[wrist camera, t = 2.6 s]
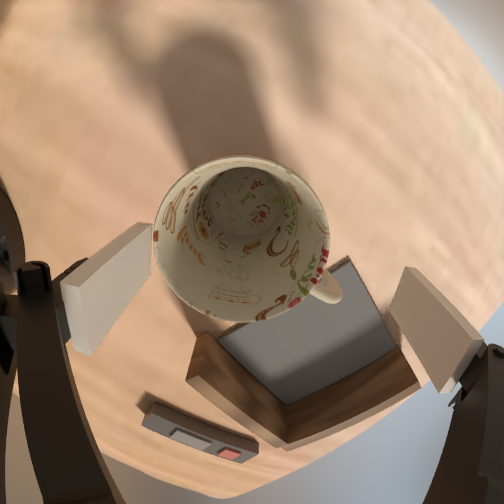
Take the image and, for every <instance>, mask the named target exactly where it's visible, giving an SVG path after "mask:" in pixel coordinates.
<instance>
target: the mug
mask: <svg viewBox="0 0 504 504" xmlns="http://www.w3.org/2000/svg"><path fill="white" fill-rule="evenodd" d="M153 246H154V253H155V257H156V261H157V264H158V267H159V269H160V272H161V274H162V276H163V278H164V279H165V281H166V283H167V284H168V285H169V287H170V288H171V289H172V291H173V292H174V293H175V294H176V295H177V296H178V297H179V298H180V299H181V300H182V301H184V302H185V303H186V304H187V305H189V306H190V307H192V308H193V309H195V310H197V311H198V312H200V313H202V314H204V315H207V316H210V317H212V318H215V319H219V320H223V321H229V322H256V321H262V320H266V319H269V318H272V317H275V316H278V315H280V314H282V313H284V312H286V311H288V310H290V309H291V308H293V307H294V306H296V305H297V304H298V303H300V302H301V301H302V300H303V299H304V298H305V297H306V296H307V295H308V294H309V293H310V294H311V295H313V296H315V297H316V298H318V299H320V300H322V301H324V302H326V303H331V304H335V303H338V302H340V301H341V299H342V290H341V288H340V286H339V284H338V283H337V281H336V280H335V279H334V277H333V276H332V275H331V274H330V273H329V272H328V271H327V270H326V269H325V266H326V263H327V259H328V254H329V247H330V233H329V226H328V221H327V217H326V214H325V211H324V209H323V206H322V204H321V202H320V200H319V198H318V197H317V195H316V194H315V192H314V191H313V190H312V188H311V187H310V186H309V185H308V184H307V183H306V182H305V181H304V180H303V179H302V178H301V177H300V176H299V175H297V174H296V173H295V172H294V171H292V170H291V169H289V168H287V167H286V166H284V165H282V164H280V163H278V162H275V161H273V160H270V159H267V158H263V157H258V156H253V155H229V156H223V157H219V158H215V159H212V160H209V161H207V162H204V163H202V164H200V165H198V166H196V167H195V168H193V169H191V170H190V171H188V172H187V173H186V174H184V175H183V176H182V177H181V178H180V179H179V180H178V181H177V182H176V183H175V184H174V185H173V186H172V187H171V189H170V190H169V191H168V193H167V194H166V196H165V197H164V199H163V201H162V203H161V205H160V207H159V210H158V213H157V216H156V219H155V224H154V232H153ZM320 278H321V279H322V281H323V282H324V283H325V285H326V287H325V286H323V285H321V284H320V283H318V281H319V279H320Z"/></svg>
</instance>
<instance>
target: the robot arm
mask: <svg viewBox="0 0 504 504" xmlns="http://www.w3.org/2000/svg"><path fill="white" fill-rule="evenodd" d="M151 243H152V224H150V223H143V222H137V223H136V224H134V225H133V226H132V227H130V228H129V229H127V230H126V231H125V232H123V233H122V234H121V235H119V236H118V237H117V238H115V239H114V240H112V241H111V242H110V243H108V244H107V245H106V246H104V247H103V248H102V249H101V250H99V251H98V252H97V253H95V254H94V255H93V256H91V257H90V258H84V259H82V260H79V261H77V262H75V263H74V264H73V265H71V266H70V267H69V268H68V269H66V270H65V271H64V273H61V274H60V275H59V276H57V277H56V278H55V279H54V280H52V281H51V274H50V268H49V265H48V264H47V263H45V262H42V261H30V262H26V263H25V251H24V244H23V238H22V234H21V230H20V226H19V223H18V220H17V217H16V214H15V212H14V210H13V207H12V205H11V203H10V201H9V200H8V198H7V196H6V195H5V193H4V192H3V191H2V189H1V188H0V504H6V492H5V451H6V436H7V424H8V417H9V409H10V402H11V396H12V390H13V385H14V380H15V375H16V370H17V372H18V385H19V395H20V403H21V410H22V417H23V423H24V429H25V434H26V439H27V444H28V448H29V453H30V457H31V460H32V464H33V468H34V472H35V475H36V478H37V482H38V485H39V488H40V491H41V494H42V497H43V503H44V504H126V503H125V501H124V499H123V497H122V495H121V494H120V492H119V490H118V488H117V486H116V484H115V482H114V480H113V478H112V476H111V474H110V472H109V470H108V468H107V466H106V464H105V462H104V459H103V457H102V455H101V453H100V450H99V448H98V446H97V443H96V441H95V439H94V436H93V433H92V431H91V428H90V426H89V423H88V420H87V418H86V415H85V412H84V409H83V406H82V403H81V400H80V397H79V394H78V390H77V387H76V384H75V380H74V377H73V373H72V369H71V365H70V361H69V357H68V353H67V349H66V346H65V344H66V343H67V341H68V340H69V339H70V338H71V341H72V345H73V349H74V350H75V351H78V352H80V353H83V354H86V355H89V356H92V355H93V353H94V352H95V350H96V349H97V347H98V346H99V345H100V343H101V342H102V340H103V339H104V337H105V336H106V334H107V333H108V332H109V330H110V329H111V327H112V326H113V325H114V323H115V322H116V320H117V319H118V318H119V316H120V315H121V313H122V312H123V311H124V309H125V308H126V307H127V305H128V304H129V303H130V301H131V300H132V299H133V297H134V296H135V294H136V293H137V292H138V290H139V289H140V288H141V287H142V285H143V284H144V283H145V281H146V280H147V279H148V277H149V276H150V275H151ZM16 290H17V293H18V295H11V294H12V293H13V292H14V291H16ZM389 312H390V313H391V315H392V317H393V318H394V320H395V321H396V323H397V324H398V326H399V327H400V329H401V331H402V332H403V334H404V335H405V337H406V338H407V340H408V342H409V343H410V345H411V347H412V348H413V350H414V352H415V353H416V355H417V357H418V358H419V360H420V362H421V363H422V365H423V367H424V368H425V370H426V372H427V374H428V375H429V377H430V379H431V381H432V382H433V384H434V386H435V388H436V389H437V391H438V393H447V392H451V391H452V390H453V388H454V387H455V386H456V384H457V383H458V381H459V382H460V383H461V385H462V387H461V388H460V390H459V391H458V393H457V394H456V395H455V397H454V398H453V399H452V400H451V402H450V403H449V405H448V406H449V407H450V406H451V404H453V403H455V405H454V407H453V409H454V411H453V415H452V419H451V423H450V427H449V431H448V435H447V438H446V442H445V446H444V448H443V452H442V455H441V458H440V461H439V464H438V467H437V469H436V472H435V475H434V477H433V480H432V483H431V485H430V488H429V490H428V493H427V495H426V497H425V499H424V502H423V504H504V348H502V347H501V346H499V345H496V344H489V345H488V346H487V345H486V344H485V342H484V339H483V337H482V336H481V335H480V334H479V333H478V332H477V330H476V329H475V328H474V327H473V326H472V325H471V324H470V323H469V322H468V320H467V319H466V318H465V317H464V316H463V315H462V314H461V313H460V312H459V311H458V310H457V309H456V308H455V306H454V305H453V304H452V303H451V302H450V301H449V300H448V299H447V298H446V297H445V296H444V295H443V294H442V293H441V292H440V291H439V290H438V289H437V288H436V287H435V286H434V285H433V284H432V283H431V282H430V281H429V280H428V279H427V278H426V277H425V276H424V275H423V274H422V273H421V272H419V271H418V270H417V269H416V268H412V267H407V266H405V268H404V271H403V274H402V276H401V279H400V282H399V285H398V287H397V290H396V292H395V295H394V297H393V300H392V302H391V305H390V307H389Z"/></svg>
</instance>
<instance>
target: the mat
mask: <svg viewBox="0 0 504 504" xmlns="http://www.w3.org/2000/svg"><path fill="white" fill-rule="evenodd" d="M330 274H331V275H332V276H333V277H334V279H335V280H336V281H337V283H338V284H339V286H340V288H341V290H342V299H341V301H340V302H338V303H335V304H331V303H326V302H324V301H322V300H320V299H318V298H316V297H315V296H313V295H311V294H310V293H309V294H308V295H307V296H306V297H305V298H304V299H303V300H302V301H301V302H300V303H298V304H297V305H296V306H294V307H293V308H291V309H290V310H288V311H286V312H284V313H282V314H280V315H278V316H275V317H272V318H269V319H266V320H262V321H256V322H247V323H245V324H243V325H242V326H240V327H238V328H236V329H234V330H233V331H231V332H229V333H227V334H225V335H224V336H222V337H220V338H218V342H219V343H220V344H221V345H222V346H223V347H224V348H225V349H226V350H227V351H228V352H229V353H230V354H231V355H232V356H234V357H235V358H236V359H237V360H238V361H239V362H240V363H241V364H242V365H243V366H244V367H245V368H246V369H247V370H248V371H249V372H250V373H251V374H252V375H253V376H254V377H256V378H257V379H258V380H259V381H260V382H261V383H262V384H263V385H264V386H265V387H266V388H268V389H269V390H270V391H271V392H272V393H273V394H274V395H275V396H276V397H278V398H279V399H280V400H281V401H282V402H283V403H284V404H286V405H288V404H290V403H292V402H295V401H297V400H299V399H301V398H304V397H306V396H308V395H310V394H312V393H314V392H316V391H318V390H321V389H323V388H325V387H327V386H329V385H331V384H333V383H335V382H337V381H338V380H340V379H342V378H344V377H346V376H348V375H350V374H352V373H354V372H355V371H357V370H359V369H361V368H363V367H364V366H366V365H368V364H370V363H371V362H373V361H375V360H376V359H378V358H380V357H381V356H383V355H385V354H386V353H388V352H390V351H391V350H393V349H394V348H396V345H395V343H394V341H393V339H392V337H391V335H390V333H389V331H388V330H387V328H386V326H385V324H384V322H383V320H382V318H381V316H380V314H379V312H378V310H377V309H376V307H375V305H374V303H373V301H372V299H371V297H370V296H369V294H368V292H367V290H366V288H365V287H364V285H363V283H362V281H361V279H360V278H359V276H358V274H357V272H356V271H355V269H354V267H353V266H352V264H351V262H350V261H349V260H348V261H347V262H345V263H344V264H342V265H340V266H339V267H337V268H336V269H334V270H333V271H331V272H330ZM318 283H320V284H321V285H323V286H325V287H326V285H325V283H324V282H323V281H322V279H321V278H320V279H319V281H318Z"/></svg>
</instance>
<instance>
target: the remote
mask: <svg viewBox="0 0 504 504" xmlns="http://www.w3.org/2000/svg"><path fill="white" fill-rule="evenodd" d="M142 426H144V427H146V428H148V429H150V430H152V431H154V432H157V433H159V434H161V435H163V436H166V437H168V438H170V439H173V440H175V441H177V442H180V443H182V444H185V445H187V446H190V447H193V448H195V449H198V450H201V451H204V452H206V453H209V454H212V455H215V456H218V457H221V458H224V459H228V460H231V461H234V462H238V463H241V464H242V463H244V462H245V461H247V460H249V459H251V458H252V457H254V456H256V455H258V454H259V443H257V442H254V441H251V440H248V439H245V438H242V437H239V436H236V435H233V434H230V433H227V432H225V431H222V430H219V429H217V428H214V427H212V426H209V425H207V424H204V423H202V422H199V421H197V420H195V419H192V418H190V417H188V416H185V415H183V414H181V413H179V412H177V411H174V410H172V409H170V408H168V407H166V406H164V405H162V404H160V403H158V402H155V403H154V404H153V405H152V407H151V408H150V409H149V410H148V412H147V413H146V414H145V416H144V419H143V422H142Z"/></svg>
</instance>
